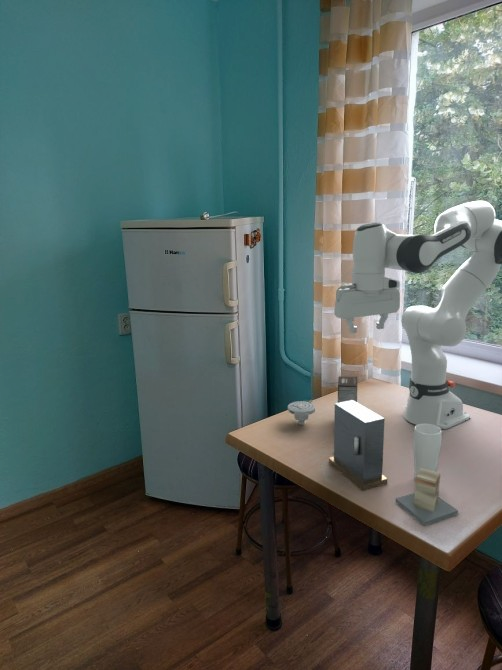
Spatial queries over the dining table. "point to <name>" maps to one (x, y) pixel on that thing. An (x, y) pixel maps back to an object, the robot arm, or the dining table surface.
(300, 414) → the showerhead
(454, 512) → the mat
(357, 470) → the cabinet
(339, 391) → the coffee box
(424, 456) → the drinking glass
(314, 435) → the dining table surface
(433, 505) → the block
